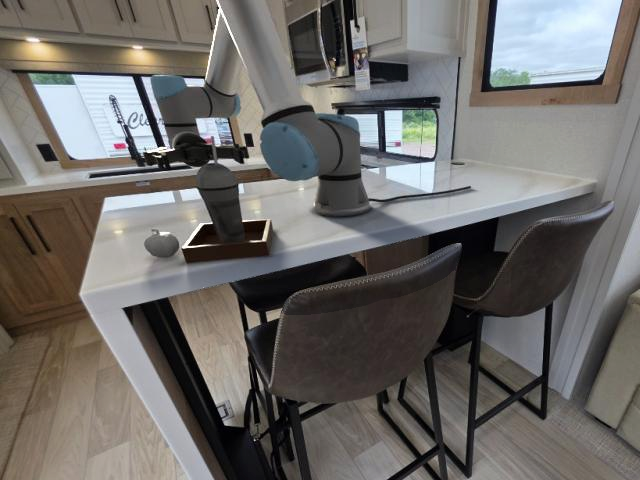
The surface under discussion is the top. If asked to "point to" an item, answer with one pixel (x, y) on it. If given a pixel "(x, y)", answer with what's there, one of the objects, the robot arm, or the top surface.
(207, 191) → the beverage cup
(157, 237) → the grey pumpkin
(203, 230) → the tray
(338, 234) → the top surface
